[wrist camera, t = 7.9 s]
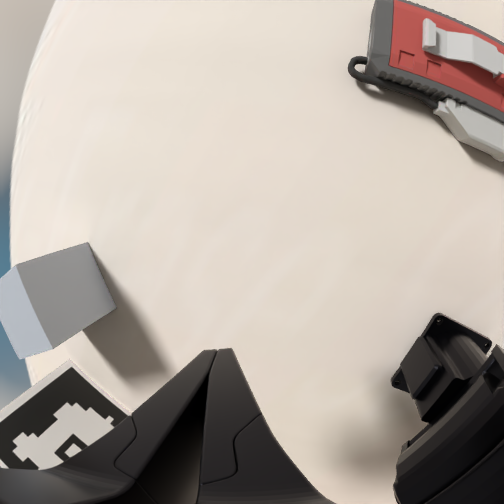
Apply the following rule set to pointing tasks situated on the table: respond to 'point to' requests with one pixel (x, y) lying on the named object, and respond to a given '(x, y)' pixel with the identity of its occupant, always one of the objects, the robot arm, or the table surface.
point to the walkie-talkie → (439, 69)
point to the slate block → (52, 299)
